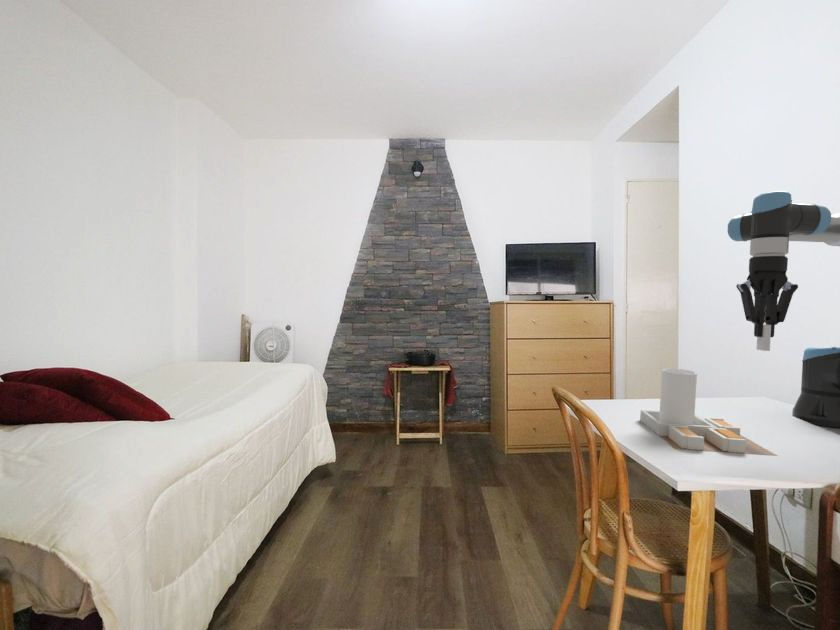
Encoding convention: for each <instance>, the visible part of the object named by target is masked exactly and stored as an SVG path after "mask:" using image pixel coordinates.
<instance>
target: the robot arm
mask: <svg viewBox="0 0 840 630" xmlns="http://www.w3.org/2000/svg"><path fill="white" fill-rule="evenodd" d="M727 234H728V236H729V238H730V239H731V240H733V241H734V242H747V241H748V242H749V241H750V242H749V243H750V245H749V255H750V256H751V257H750V258H749V260H748V261H749V263H748V273H749V274H748V276H747V277H746V280H745V281H743V282H741V283H736V289H737V290H738V291H739V293H740V297H741V303H742V307H743V312H744V316H745V320H746V321H747V322H751V323H752V324H753V325H754V329H753V335H754V337H756V350H758V351H765V352H770V351H771V339H772V338H774V337H775V325H778V324H779V323H783V322H784V321H785V319H786V316H787V313H788V310H789V307H790V304H791V301H792V299H793V296H794V293H795V292H796V290H797V289H798V288H799V284H797V283H796V284H795V283H794V284H793V283H792V282H790V281H789V280H788V279H789V278H788V277H787V271H788V264H789V263H788V259H789V258H788V257H787V256H786V255H787V254H789V246H790V245H789V244H790V242H805V243H807V242H808V243H824V244H826V245H828V246H832V247H840V213H835V214H833V215H832V213H831V210H830V209H829V208H828V207H826V206H823V205H819V204H816V203H799V202H796V203H794V202H793V199H792V194H791V193H790V192H788V191H771V192H765V193H760V194H758V195H756V196H755V197H754V198H753V201H752V206H751V211H750V213H743V214H741V215H737V216H734V217H733V218H731V219H730V220H729V222H728V223H727ZM751 289H752V290H753V294H752V291H751ZM781 290H782V291H781ZM780 291H781V292H780ZM753 296H754V299H753ZM778 298H779V299H778ZM801 362H802V364H801V365H802V369H801V370H802V371H801V388H800V390H801V391H800V394H799V396H798V398H797V400H796V402H795V404H794V407H793V408H792V414H791V417H794V418H796V419H798V420H802V422H803V421H804V422H805V423H809V424H812V425H813V424H814V425H818V426H822V427H829V428H837V429H840V346H817V347H816V346H811V347H807V348H806V349H804V351H803V355H802V360H801Z"/></svg>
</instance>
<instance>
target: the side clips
mask: <svg viewBox="0 0 840 630" xmlns="http://www.w3.org/2000/svg"><path fill="white" fill-rule="evenodd" d="M704 420H706V421H707V422H709V423H711V424H713V425H714V426H716V427H718V428H725V429H727V430H730V431H731V432H733V433H735V434H737V435H738V436H740V435H741V428H740V427H739V426H734V425H732V424H729V423H728V422H726V421H725V420H724V418H720V417H704ZM669 438H670V439H671V440H673V441H674V442H675V443H676V444H678V445H679V446H680V447H681V448H687V449H694V450H693V451H696V450H704V437H702V436H698V435H696V434H695V433H693V432H692V431H690V430H689V427H687V426H673V425H672V426H669Z"/></svg>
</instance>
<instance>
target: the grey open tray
mask: <svg viewBox="0 0 840 630" xmlns="http://www.w3.org/2000/svg"><path fill="white" fill-rule="evenodd" d="M716 430H727V429H725V428H707V438H706V440H708V441H709V442H711V443H712V444H714V445H715V446H717V447H718V448H720V449H721V450H723V451H729V452H740V453H739V454H741V453H745V449H746V440H745V439H738V438H727V437H725V436H723V435H722V434H720V433H718V432H717V431H716Z"/></svg>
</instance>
